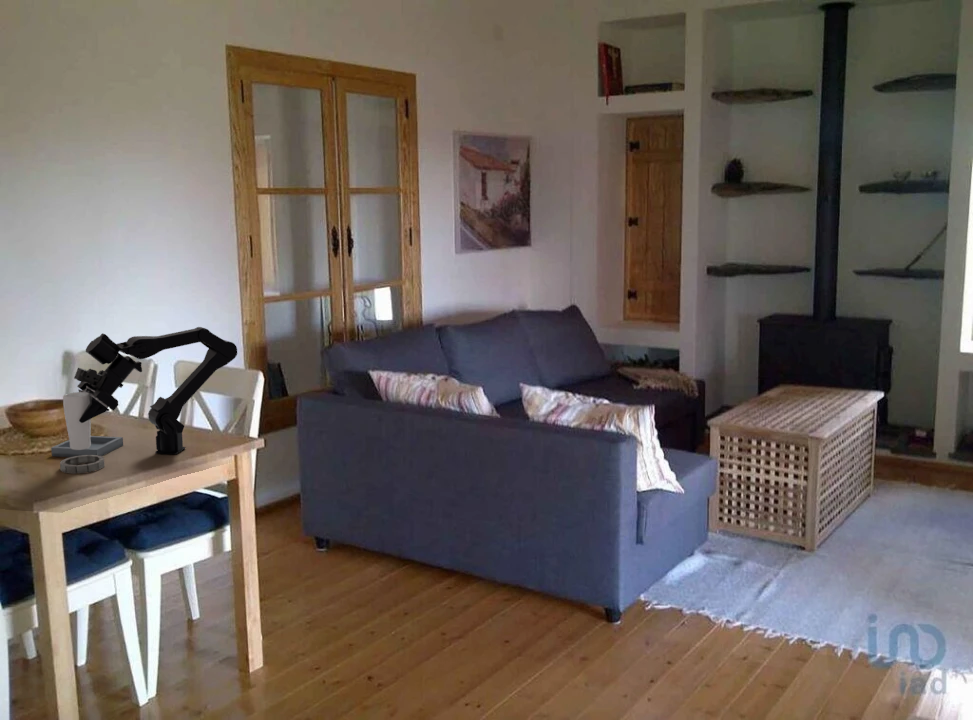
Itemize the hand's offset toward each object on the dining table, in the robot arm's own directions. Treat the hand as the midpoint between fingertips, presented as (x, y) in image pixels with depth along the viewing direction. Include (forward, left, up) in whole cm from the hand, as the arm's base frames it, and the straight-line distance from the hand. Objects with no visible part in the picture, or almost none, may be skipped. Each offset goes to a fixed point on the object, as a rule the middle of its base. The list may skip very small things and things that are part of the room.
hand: (76, 419), depth 257 cm
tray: (+7, -15, -13) cm, 21 cm away
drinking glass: (0, 0, -8) cm, 8 cm away
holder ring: (-1, +1, -13) cm, 13 cm away
